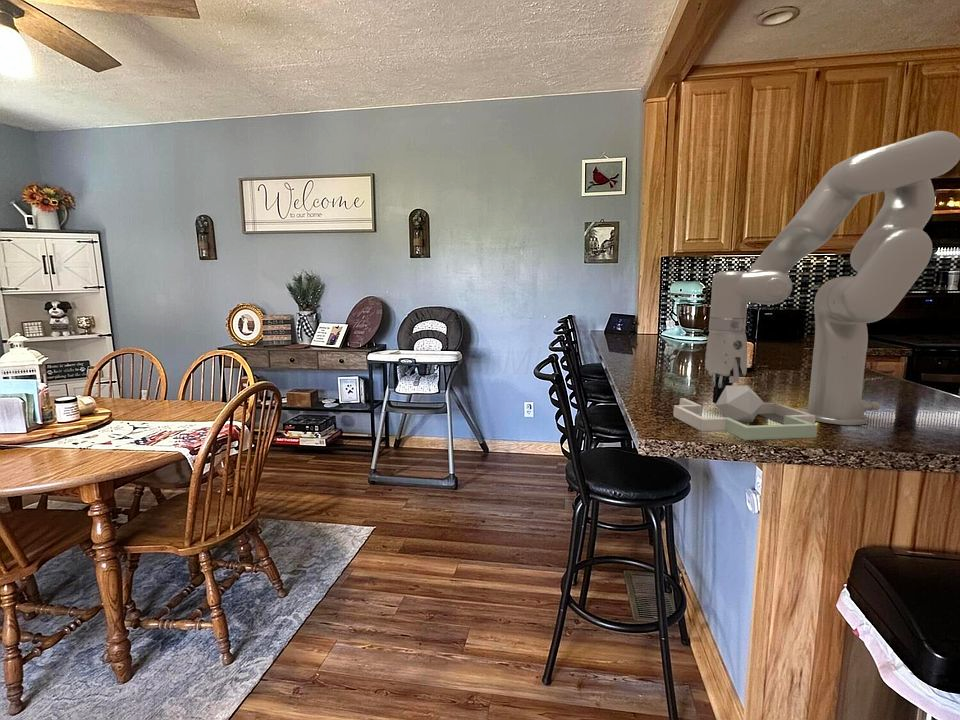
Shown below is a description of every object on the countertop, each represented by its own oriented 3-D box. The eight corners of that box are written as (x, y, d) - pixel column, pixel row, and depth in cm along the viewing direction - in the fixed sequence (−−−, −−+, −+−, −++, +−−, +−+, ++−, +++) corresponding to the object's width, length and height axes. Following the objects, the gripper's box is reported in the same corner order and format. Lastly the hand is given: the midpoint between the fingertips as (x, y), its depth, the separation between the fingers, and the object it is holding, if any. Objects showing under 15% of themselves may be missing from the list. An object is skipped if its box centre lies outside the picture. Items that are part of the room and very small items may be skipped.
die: (758, 432, 104) (777, 393, 106) (722, 411, 105) (741, 373, 106) (736, 433, 113) (754, 396, 114) (703, 413, 113) (721, 377, 115)
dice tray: (756, 405, 124) (757, 396, 123) (840, 436, 98) (841, 424, 98) (659, 408, 121) (659, 398, 121) (719, 441, 96) (720, 428, 96)
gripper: (763, 328, 107) (755, 411, 109) (724, 323, 121) (718, 396, 124) (730, 328, 106) (723, 411, 109) (694, 323, 121) (689, 396, 124)
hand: (720, 403), depth 116 cm, fingers closed
